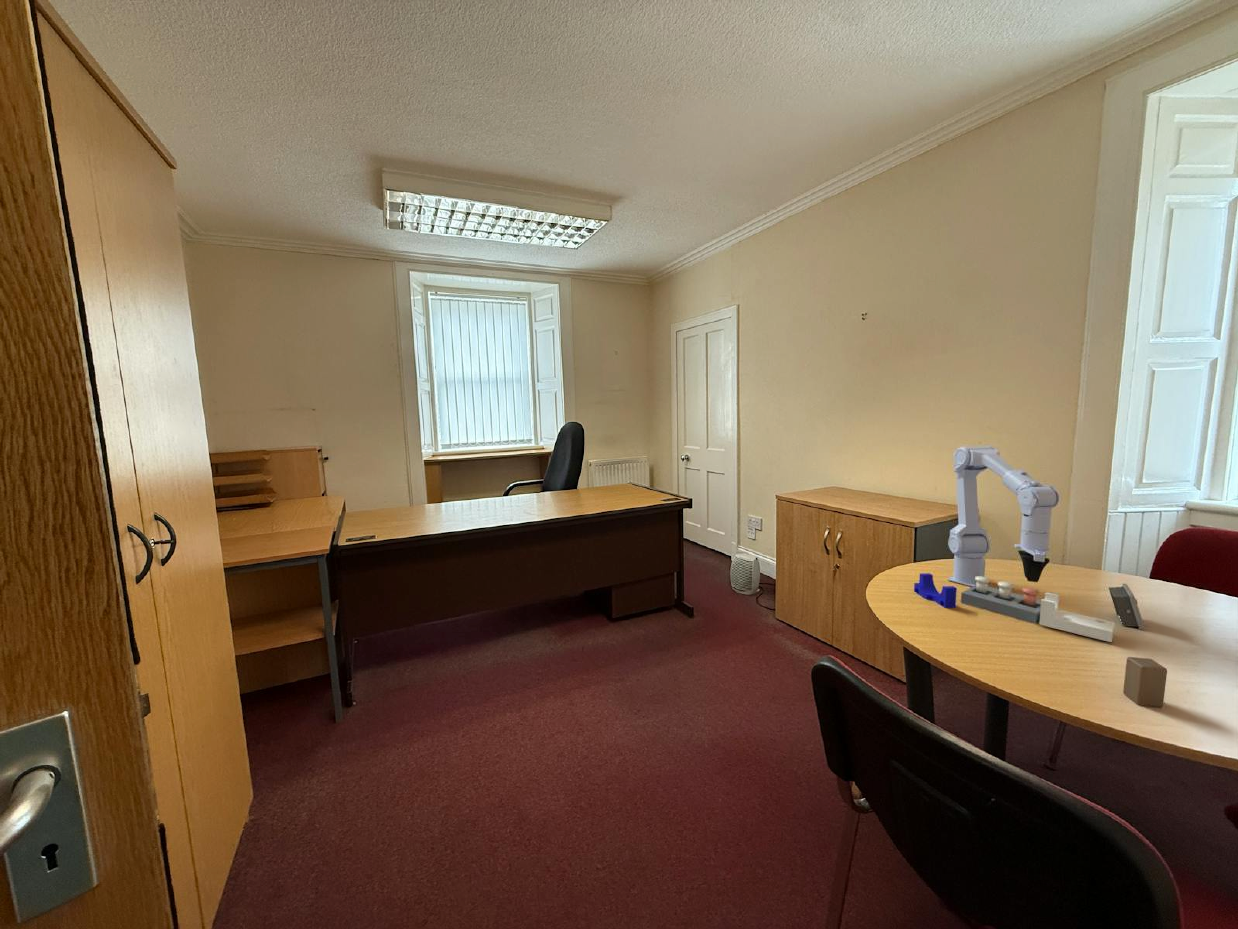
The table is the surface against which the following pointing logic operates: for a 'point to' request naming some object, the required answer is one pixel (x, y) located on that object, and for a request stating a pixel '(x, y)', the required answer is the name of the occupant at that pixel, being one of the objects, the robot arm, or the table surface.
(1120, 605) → the electrical switch
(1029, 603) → the red plug
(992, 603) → the socket strip
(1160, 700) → the wooden block
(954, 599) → the blue cradle holder
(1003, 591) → the cream plug mid
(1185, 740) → the table surface
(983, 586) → the cream plug near
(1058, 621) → the bracket
